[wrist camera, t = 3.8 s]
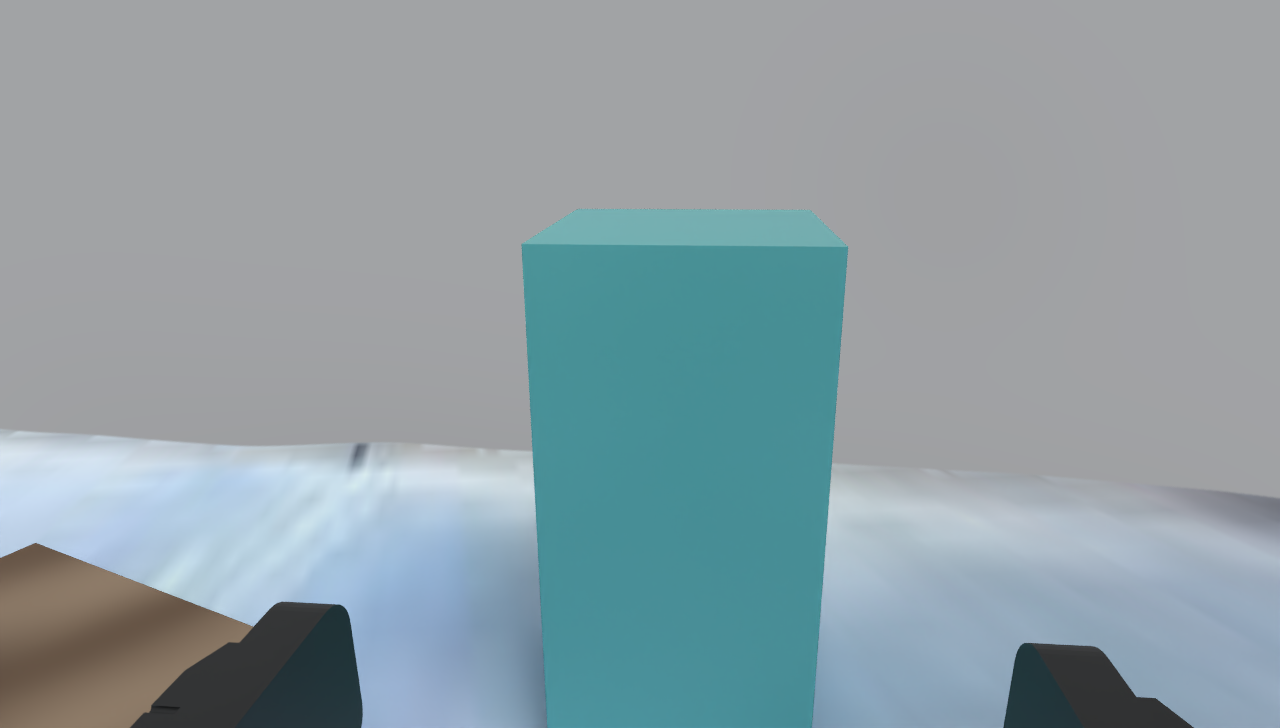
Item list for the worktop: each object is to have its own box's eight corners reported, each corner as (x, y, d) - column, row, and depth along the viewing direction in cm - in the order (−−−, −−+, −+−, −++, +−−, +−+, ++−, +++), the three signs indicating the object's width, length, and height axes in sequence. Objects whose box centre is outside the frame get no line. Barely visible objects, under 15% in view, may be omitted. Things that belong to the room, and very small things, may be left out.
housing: (785, 619, 21) (810, 209, 18) (807, 781, 16) (847, 246, 12) (589, 608, 21) (577, 208, 18) (549, 762, 16) (521, 244, 13)
